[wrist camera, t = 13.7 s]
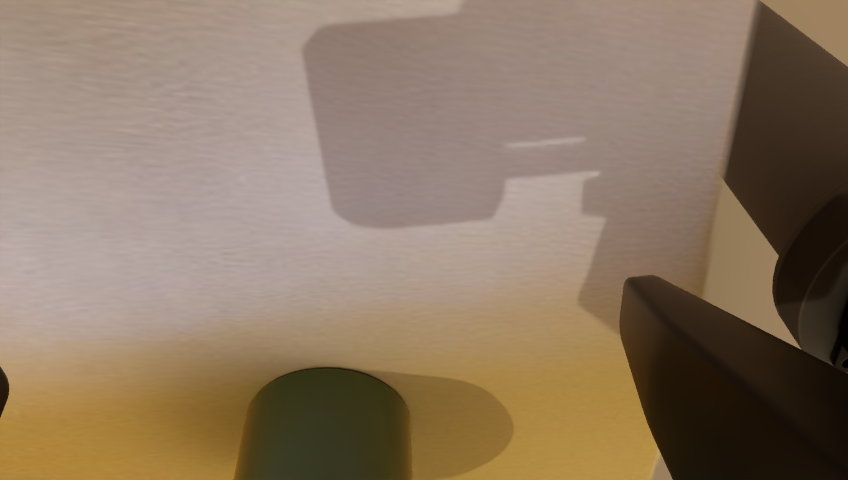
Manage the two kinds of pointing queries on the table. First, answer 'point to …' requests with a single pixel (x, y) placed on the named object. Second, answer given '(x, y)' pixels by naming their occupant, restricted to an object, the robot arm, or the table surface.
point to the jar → (326, 429)
